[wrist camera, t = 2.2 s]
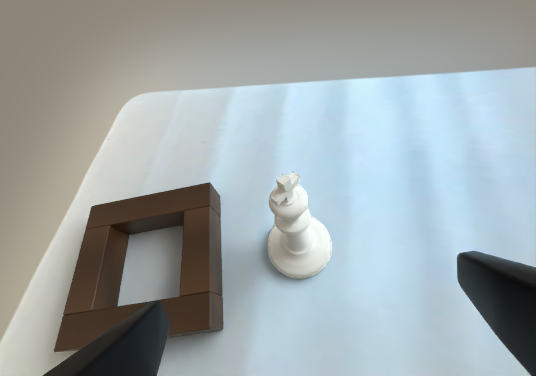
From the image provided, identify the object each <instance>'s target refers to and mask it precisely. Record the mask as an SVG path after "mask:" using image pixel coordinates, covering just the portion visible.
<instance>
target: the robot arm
mask: <svg viewBox="0 0 536 376" xmlns="http://www.w3.org/2000/svg"><path fill="white" fill-rule="evenodd" d="M457 277H458V282H459V284H460V286H461V288H462V289H463V291H464V292H465V293H466V295H467V296H468V297H469V299H470V300H471V302H472V303H473V304H474V306H475V307H476V308H477V310H478V311H479V312H480V314H481V315H482V317H483V318H484V319H485V321H486V322H487V323H488V325H489V326H490V327H491V329H492V330H493V331H494V333H495V334H496V335H497V337H498V338H499V339H500V340H501V341H502V343H503V344H504V345H505V346H506V347H507V348H508V350H509V351H510V352H511V353H512V354H513V355H514V356H515V358H516V359H517V360H518V361H519V362H520V363H521V364H522V366H523V367H524V368H525V369H526V370H527V371H528V372H529V374H530V375H531V376H536V267H532V266H528V265H525V264H521V263H517V262H514V261H510V260H506V259H503V258H499V257H495V256H492V255H488V254H484V253H481V252H477V251H470V252H463V253H460V254H458V256H457ZM169 329H170V323H169V319H168V316H167V314H166V311H165V308H164V305H163V303H162V302H161V301H153V302H148V303H146V304H144V305H143V306H141V307H140V308H139V309H137V310H136V311H134V312H133V313H131V314H130V315H129V316H127V317H126V318H124V319H123V320H121V321H120V322H119V323H117V324H116V325H114V326H113V327H111V328H110V329H109V330H107V331H106V332H104V333H103V334H101V335H100V336H99V337H97V338H96V339H94V340H93V341H91V342H90V343H89V344H87V345H86V346H84V347H83V348H81V349H80V350H79V351H77V352H76V353H74V354H73V355H71V356H70V357H69V358H67V359H66V360H64V361H63V362H61V363H60V364H59V365H57V366H56V367H54V368H53V369H51V370H50V371H49V372H47V373H46V374H44V375H43V376H157V373H158V369H159V365H160V362H161V358H162V355H163V351H164V347H165V344H166V340H167V337H168V333H169Z"/></svg>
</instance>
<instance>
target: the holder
mask: <svg viewBox="0 0 536 376" xmlns="http://www.w3.org/2000/svg"><path fill="white" fill-rule="evenodd" d="M220 217H221V216H220V195H219V194H218V193H217V191H216V190H215V189H214V187H213V186H212V184H211V183H210V182H209V183H204V184H200V185H195V186H190V187H185V188H180V189H175V190H170V191H165V192H160V193H155V194H150V195H145V196H140V197H135V198H130V199H125V200H120V201H115V202H110V203H105V204H100V205H95V206H92V207H91V211H90V215H89V218H88V222H87V226H86V230H85V234H84V238H83V241H82V245H81V249H80V253H79V257H78V260H77V264H76V268H75V272H74V276H73V279H72V283H71V287H70V291H69V295H68V298H67V302H66V306H65V310H64V314H63V315H64V316H63V318H62V322H61V326H60V330H59V334H58V337H57V341H56V345H55V349H54V352H63V351H77V350H80V349H81V348H83V347H84V346H86V345H87V344H89V343H90V342H91V341H93V340H94V339H96V338H97V337H99V336H100V335H101V334H103V333H104V332H106V331H107V330H109V329H110V328H111V327H113V326H114V325H116V324H117V323H119V322H120V321H121V320H123V319H124V318H126V317H127V316H129V315H130V314H131V313H133V312H134V311H136V310H137V309H139V308H140V307H141V306H143V305H144V304H146V303H148V302H144V303H137V304H131V305H125V306H118V307H117V303H118V297H119V291H120V285H121V279H122V273H123V267H124V261H125V255H126V249H127V243H128V237H129V235H130V234H135V233H140V232H146V231H151V230H156V229H162V228H167V227H173V226H178V225H183V224H184V225H183V243H182V262H181V280H180V296H181V297H175V298H169V299H162V300H156V301H161V302H162V303H163V305H164V308H165V311H166V314H167V316H168V319H169V323H170V329H169V333H168V337H167V338H170V337H177V336H184V335H191V334H198V333H204V332H211V331H218V330H223V298H222V259H221V220H220ZM150 302H153V301H150Z"/></svg>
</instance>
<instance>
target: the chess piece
mask: <svg viewBox="0 0 536 376" xmlns="http://www.w3.org/2000/svg"><path fill="white" fill-rule="evenodd" d="M276 181H277V184H278V186H277V187H276V188H275V189H274V190H273V191H272V192H271V194H270V197H269V206H270V209H271V211H272V212H273V213H274V214H275V226H274V227H273V228H272V230H271V232H270V234H269V237H268V254H269V257H270V260H271V262H272V263H273V265H274V266H275V267H276V269H277V270H278V271H280V272H281V273H282V274H284V275H286V276H288V277H291V278H297V279H304V278H309V277H312V276H314V275H316V274H318V273H319V272H320V271H322V270H323V269H324V268H325V266H326V265H327V263H328V262H329V259H330V257H331V252H332V243H331V238H330V236H329V233H328V231H327V229H326V228H325V226H324V225H323V224H322V223H321V222H320V221H318V220H317V219H315V218H314V217H311V215H310V212H309V210H308V209H307V205H308V196H307V193H306V191H305V190H304V189H303V188H302V187H301V186H299V185H297V184H298V183H299V182H300V176H299V175H298V174H296V173H294V172H293V171H292V173H291V174H290V175H289V176H288V177H287V176H286V175H284V174H282V175H281V176H280V177H279V178H278V179H277V180H276Z"/></svg>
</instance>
